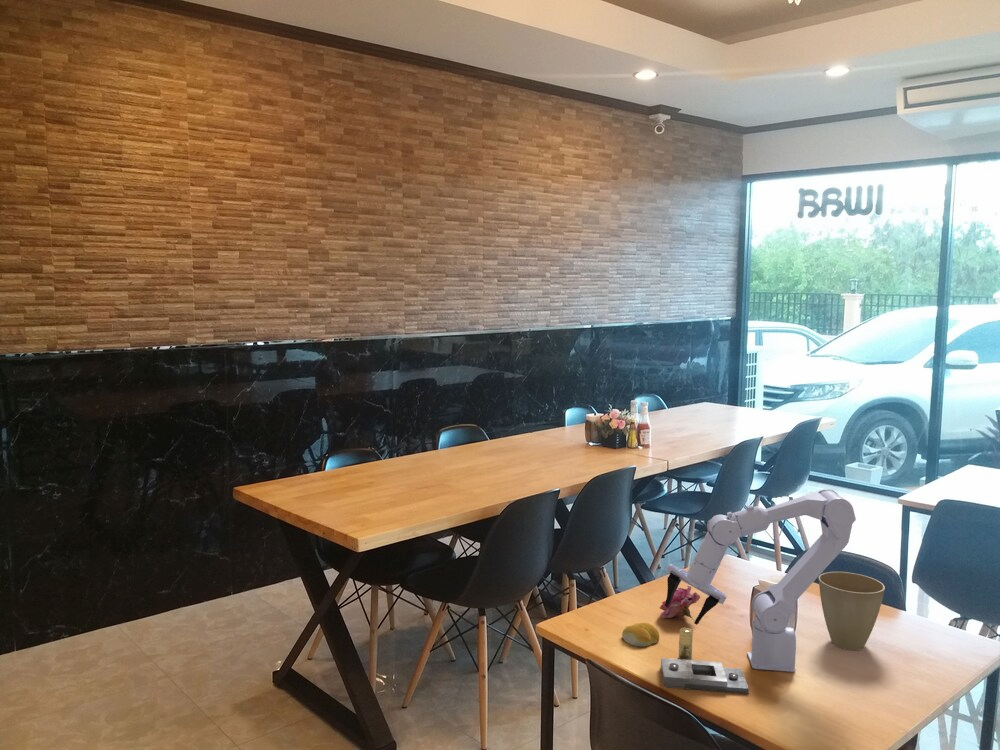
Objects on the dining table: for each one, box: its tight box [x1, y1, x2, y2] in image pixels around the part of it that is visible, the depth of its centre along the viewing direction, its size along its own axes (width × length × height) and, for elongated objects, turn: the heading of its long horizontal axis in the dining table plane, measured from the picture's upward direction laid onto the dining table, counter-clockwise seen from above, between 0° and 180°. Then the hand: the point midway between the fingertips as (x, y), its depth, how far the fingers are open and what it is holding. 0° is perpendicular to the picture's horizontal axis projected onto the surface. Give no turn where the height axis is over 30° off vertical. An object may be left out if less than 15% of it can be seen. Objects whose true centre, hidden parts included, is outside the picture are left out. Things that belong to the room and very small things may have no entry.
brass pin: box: [678, 627, 694, 660], centre depth 181 cm, size 3×3×7 cm
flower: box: [659, 585, 701, 625], centre depth 204 cm, size 11×10×10 cm
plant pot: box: [818, 571, 886, 651], centre depth 190 cm, size 15×15×16 cm
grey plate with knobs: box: [660, 657, 750, 695], centre depth 171 cm, size 18×9×3 cm, turn 82°
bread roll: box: [621, 622, 660, 647], centre depth 192 cm, size 8×9×4 cm
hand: (681, 614), depth 181 cm, fingers open, 7 cm apart
